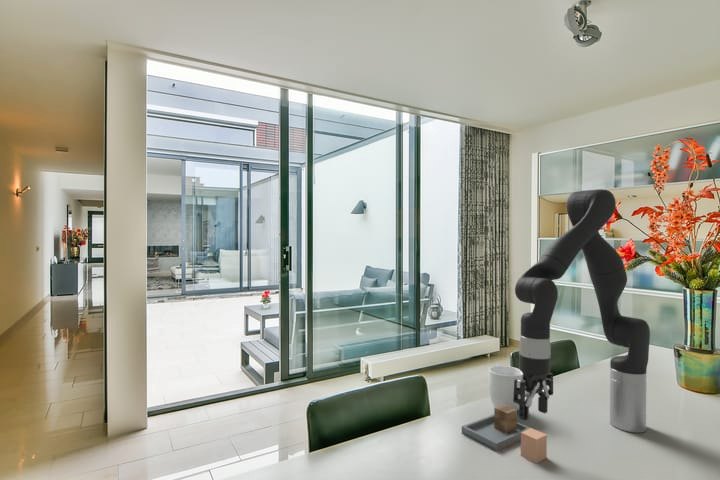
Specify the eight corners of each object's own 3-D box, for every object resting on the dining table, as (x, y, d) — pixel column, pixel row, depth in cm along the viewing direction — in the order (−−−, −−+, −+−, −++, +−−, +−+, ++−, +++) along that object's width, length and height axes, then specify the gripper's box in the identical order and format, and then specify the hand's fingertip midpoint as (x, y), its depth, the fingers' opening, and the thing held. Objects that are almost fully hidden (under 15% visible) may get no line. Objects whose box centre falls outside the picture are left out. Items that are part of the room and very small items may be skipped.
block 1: (494, 427, 120) (494, 407, 120) (503, 424, 122) (503, 404, 122) (507, 434, 116) (507, 413, 116) (516, 430, 119) (516, 409, 119)
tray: (496, 419, 127) (496, 413, 127) (531, 435, 117) (531, 428, 117) (461, 433, 118) (461, 426, 118) (496, 451, 108) (496, 443, 108)
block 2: (530, 450, 108) (530, 428, 108) (546, 457, 105) (546, 434, 105) (520, 455, 106) (520, 432, 106) (536, 463, 102) (536, 439, 102)
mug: (541, 416, 129) (541, 375, 129) (520, 424, 123) (520, 382, 123) (502, 400, 142) (502, 363, 142) (481, 407, 136) (481, 368, 136)
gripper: (532, 361, 98) (530, 428, 98) (563, 353, 106) (562, 414, 106) (505, 354, 104) (504, 416, 104) (536, 346, 112) (535, 405, 112)
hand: (533, 415), depth 105 cm, fingers open, 8 cm apart
